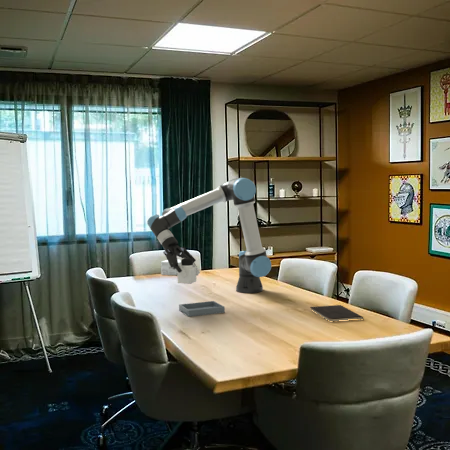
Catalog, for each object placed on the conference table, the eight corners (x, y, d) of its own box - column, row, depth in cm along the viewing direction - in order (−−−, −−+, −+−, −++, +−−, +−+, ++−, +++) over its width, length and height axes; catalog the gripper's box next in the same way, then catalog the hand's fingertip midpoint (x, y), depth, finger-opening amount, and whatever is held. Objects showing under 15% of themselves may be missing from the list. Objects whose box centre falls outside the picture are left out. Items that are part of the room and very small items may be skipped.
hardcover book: (329, 323, 226) (329, 318, 226) (310, 311, 248) (310, 306, 248) (363, 321, 229) (363, 316, 229) (341, 309, 252) (341, 304, 251)
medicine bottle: (196, 281, 258) (196, 257, 257) (190, 284, 252) (190, 259, 251) (183, 280, 261) (183, 256, 260) (177, 283, 254) (176, 258, 253)
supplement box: (191, 272, 364) (191, 259, 363) (183, 276, 352) (183, 262, 351) (169, 271, 370) (169, 258, 369) (161, 274, 358) (160, 261, 357)
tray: (213, 306, 260) (213, 300, 259) (224, 312, 247) (224, 306, 246) (179, 310, 253) (179, 304, 252) (188, 316, 240) (188, 310, 240)
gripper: (178, 243, 273) (202, 277, 264) (148, 247, 256) (172, 283, 247) (186, 234, 269) (210, 267, 260) (155, 237, 252) (180, 273, 244)
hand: (191, 275), depth 254 cm, fingers closed on medicine bottle, 9 cm apart
